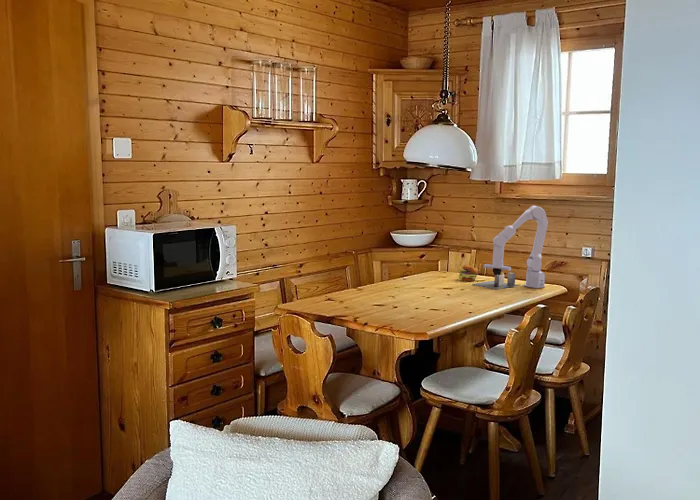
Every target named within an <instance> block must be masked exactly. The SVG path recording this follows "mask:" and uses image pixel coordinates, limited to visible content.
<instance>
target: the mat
mask: <svg viewBox="0 0 700 500" xmlns="http://www.w3.org/2000/svg"><path fill="white" fill-rule="evenodd" d="M472 286H475V287H480V288H485V287H486V289H490V290H496V291H497V290H504V289H509V288H516V287H518V284H515V285H514V286H508V284H507V282H504V284H502V285H500V286H499V287H494V280H490V281H483V282H477V283H472ZM515 286H516V287H515Z"/></svg>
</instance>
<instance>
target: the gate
mask: <svg viewBox="0 0 700 500" xmlns="http://www.w3.org/2000/svg"><path fill="white" fill-rule="evenodd" d="M504 283H505V273H504V272H501V273H500V275H499V286H500V285H502V284H504Z"/></svg>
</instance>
